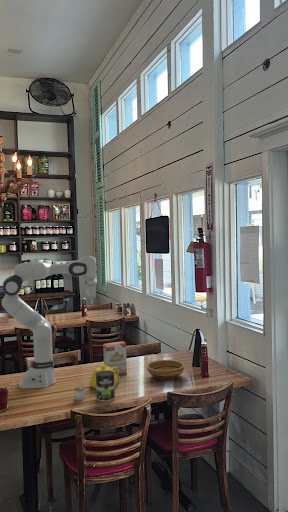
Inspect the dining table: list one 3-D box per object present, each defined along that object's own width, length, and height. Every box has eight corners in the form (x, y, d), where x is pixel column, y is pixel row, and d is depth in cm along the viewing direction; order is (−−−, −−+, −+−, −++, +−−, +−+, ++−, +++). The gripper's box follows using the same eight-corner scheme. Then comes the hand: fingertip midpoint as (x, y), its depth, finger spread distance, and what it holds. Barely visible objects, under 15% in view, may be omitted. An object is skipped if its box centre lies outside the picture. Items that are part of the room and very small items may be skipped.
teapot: (86, 385, 264) (85, 364, 264) (114, 379, 273) (113, 359, 273) (99, 394, 247) (98, 372, 246) (128, 388, 256) (128, 366, 255)
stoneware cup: (75, 401, 238) (74, 390, 237) (74, 397, 243) (73, 387, 243) (85, 400, 239) (84, 389, 239) (83, 396, 244) (83, 386, 244)
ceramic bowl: (194, 381, 264) (194, 368, 264) (158, 387, 255) (157, 374, 255) (172, 368, 292) (172, 356, 291) (139, 374, 282) (138, 361, 282)
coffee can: (116, 400, 236) (115, 375, 236) (97, 402, 235) (96, 376, 234) (114, 394, 246) (113, 369, 246) (95, 395, 245) (95, 371, 244)
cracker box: (107, 378, 276) (105, 345, 275) (103, 375, 281) (102, 343, 280) (127, 374, 282) (126, 342, 281) (123, 372, 287) (122, 340, 286)
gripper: (83, 280, 285) (84, 301, 285) (87, 282, 265) (87, 305, 266) (92, 279, 286) (93, 300, 287) (97, 282, 267) (98, 304, 267)
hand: (90, 302), depth 276 cm, fingers open, 8 cm apart
